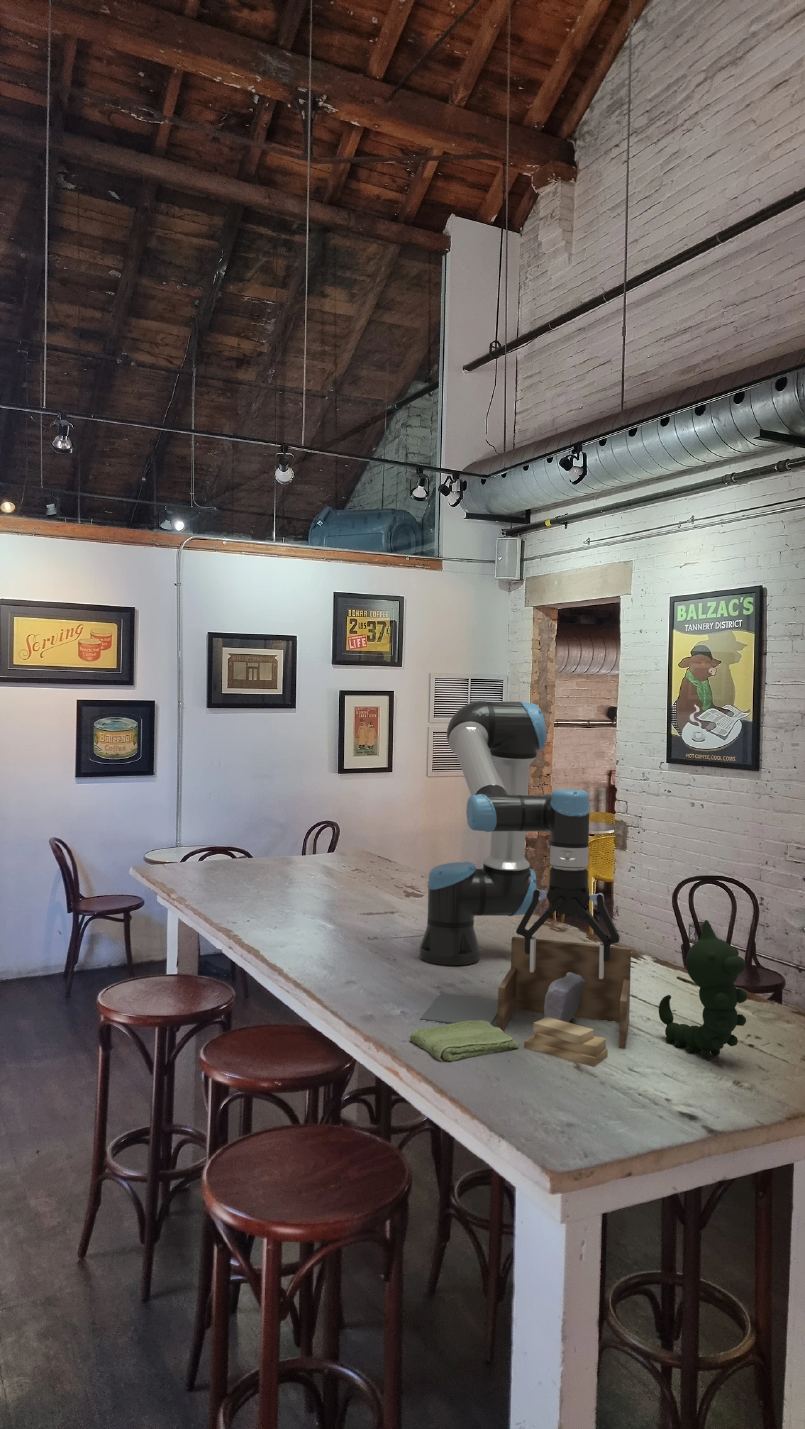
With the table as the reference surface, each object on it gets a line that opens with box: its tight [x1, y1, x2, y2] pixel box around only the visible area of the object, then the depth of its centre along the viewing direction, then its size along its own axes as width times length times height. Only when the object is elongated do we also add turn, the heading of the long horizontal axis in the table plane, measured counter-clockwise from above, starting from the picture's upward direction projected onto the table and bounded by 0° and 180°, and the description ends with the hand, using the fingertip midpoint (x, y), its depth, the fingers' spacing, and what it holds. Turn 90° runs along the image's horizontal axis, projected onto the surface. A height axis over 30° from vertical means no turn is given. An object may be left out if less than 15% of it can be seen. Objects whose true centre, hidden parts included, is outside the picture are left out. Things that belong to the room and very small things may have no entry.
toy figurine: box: [658, 919, 748, 1059], centre depth 175 cm, size 9×19×25 cm, turn 31°
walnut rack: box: [496, 936, 632, 1050], centre depth 187 cm, size 24×16×15 cm, turn 74°
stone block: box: [543, 972, 585, 1023], centre depth 186 cm, size 12×5×10 cm, turn 148°
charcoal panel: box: [419, 992, 498, 1026], centre depth 194 cm, size 14×18×1 cm
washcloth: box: [409, 1020, 520, 1063], centre depth 175 cm, size 13×18×3 cm
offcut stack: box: [523, 1017, 609, 1067], centre depth 173 cm, size 14×6×5 cm, turn 55°
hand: (566, 974), depth 186 cm, fingers open, 13 cm apart
